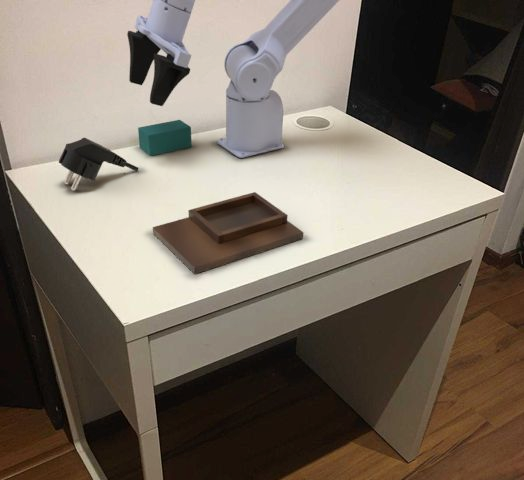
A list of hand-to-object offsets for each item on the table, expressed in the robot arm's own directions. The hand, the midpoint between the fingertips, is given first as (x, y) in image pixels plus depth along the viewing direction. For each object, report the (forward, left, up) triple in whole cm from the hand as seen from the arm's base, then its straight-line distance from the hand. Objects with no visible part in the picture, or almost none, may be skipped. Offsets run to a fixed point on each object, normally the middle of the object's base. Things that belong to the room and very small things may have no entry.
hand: (145, 93), depth 93 cm
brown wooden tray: (+3, +31, -10) cm, 32 cm away
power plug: (+11, +6, -10) cm, 16 cm away
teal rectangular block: (-3, 0, -10) cm, 10 cm away
